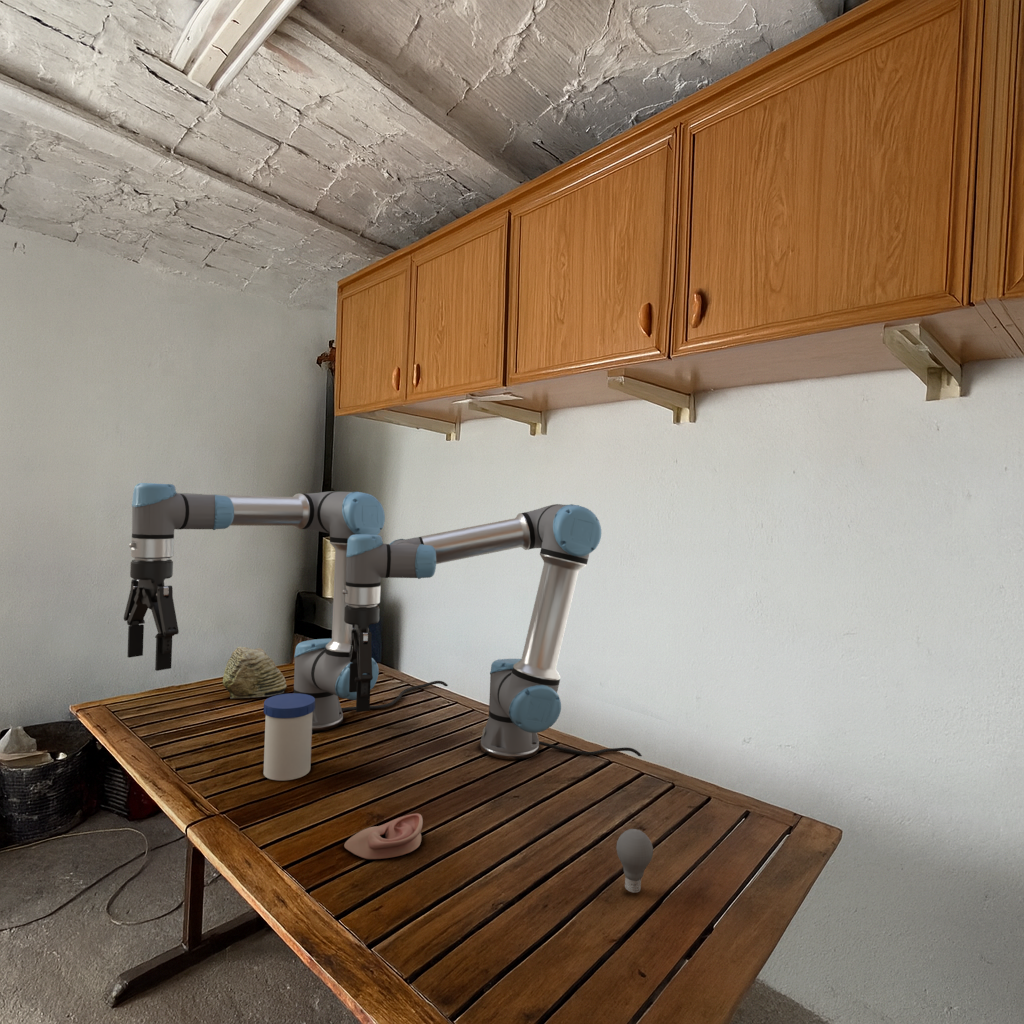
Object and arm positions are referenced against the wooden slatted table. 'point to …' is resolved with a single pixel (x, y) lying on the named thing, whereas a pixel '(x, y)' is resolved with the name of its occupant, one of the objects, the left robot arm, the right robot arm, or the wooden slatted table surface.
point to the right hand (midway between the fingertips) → (358, 700)
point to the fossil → (252, 674)
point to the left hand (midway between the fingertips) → (148, 662)
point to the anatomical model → (387, 838)
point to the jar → (287, 747)
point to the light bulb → (634, 857)
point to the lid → (289, 705)
